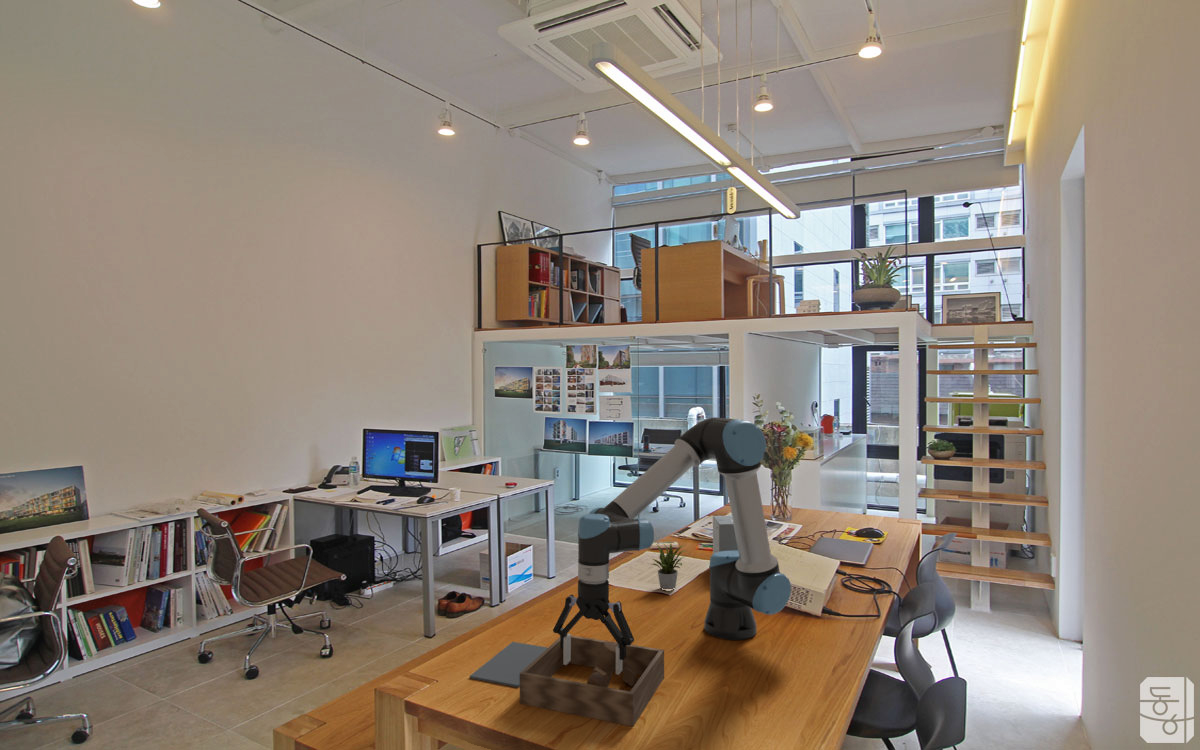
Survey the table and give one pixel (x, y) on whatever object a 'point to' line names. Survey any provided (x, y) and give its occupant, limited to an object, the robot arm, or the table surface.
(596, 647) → the crate
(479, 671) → the mat
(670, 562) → the house plant
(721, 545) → the hard drive box
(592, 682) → the wooden block set
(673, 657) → the table surface
